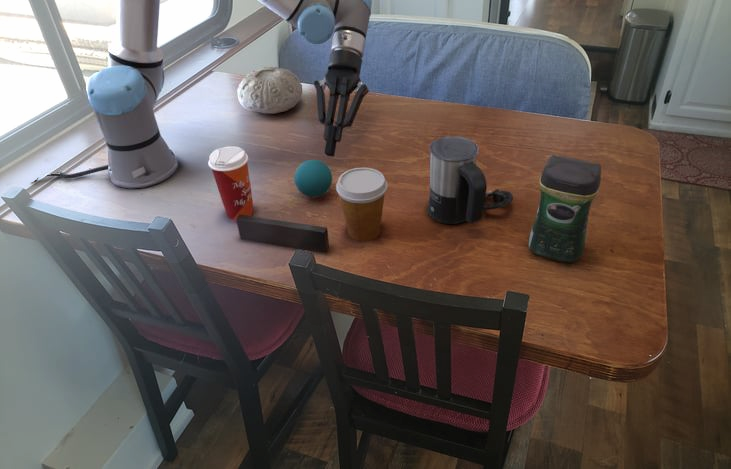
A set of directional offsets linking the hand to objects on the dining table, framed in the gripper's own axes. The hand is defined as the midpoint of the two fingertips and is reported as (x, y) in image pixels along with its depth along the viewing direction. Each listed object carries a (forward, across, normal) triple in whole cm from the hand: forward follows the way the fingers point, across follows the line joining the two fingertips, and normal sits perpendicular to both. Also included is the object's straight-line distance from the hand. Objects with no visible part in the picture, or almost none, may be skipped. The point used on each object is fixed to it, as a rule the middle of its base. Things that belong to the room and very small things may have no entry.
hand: (329, 154), depth 123 cm
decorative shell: (-17, -27, +23) cm, 39 cm away
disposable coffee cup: (+17, +14, -11) cm, 25 cm away
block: (+22, 0, -17) cm, 28 cm away
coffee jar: (+15, +50, -9) cm, 53 cm away
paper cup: (+17, -13, -11) cm, 24 cm away
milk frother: (+9, +33, -3) cm, 34 cm away
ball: (+7, 0, -7) cm, 10 cm away
